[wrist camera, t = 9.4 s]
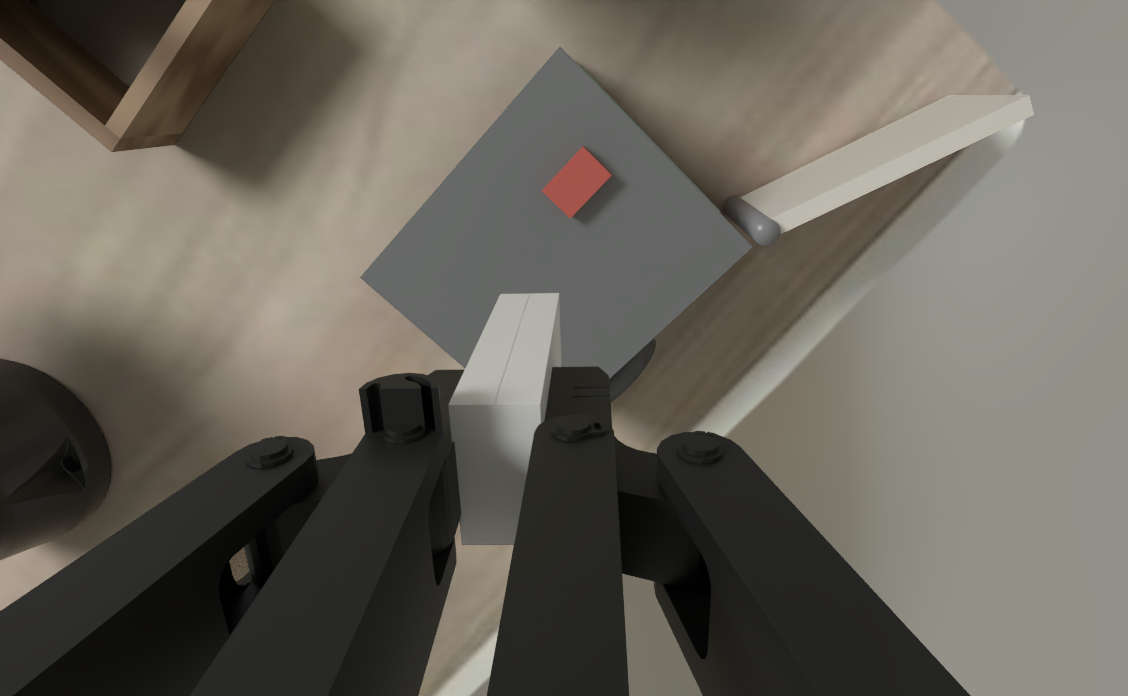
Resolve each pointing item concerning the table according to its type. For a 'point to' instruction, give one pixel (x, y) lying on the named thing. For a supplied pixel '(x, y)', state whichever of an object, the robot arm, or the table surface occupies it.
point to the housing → (561, 231)
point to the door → (873, 162)
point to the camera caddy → (163, 86)
